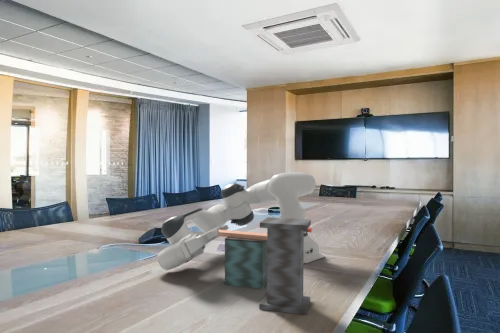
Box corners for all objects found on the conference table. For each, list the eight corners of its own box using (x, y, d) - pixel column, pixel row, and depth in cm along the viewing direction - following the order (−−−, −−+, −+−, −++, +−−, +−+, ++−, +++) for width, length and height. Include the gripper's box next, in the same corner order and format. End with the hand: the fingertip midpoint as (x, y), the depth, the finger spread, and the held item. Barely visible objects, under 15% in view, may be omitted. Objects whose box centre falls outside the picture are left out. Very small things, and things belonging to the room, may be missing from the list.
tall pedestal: (259, 308, 105) (259, 222, 104) (267, 296, 115) (267, 217, 114) (306, 314, 101) (306, 225, 100) (310, 301, 111) (310, 219, 110)
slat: (211, 235, 130) (211, 231, 130) (216, 233, 133) (216, 229, 133) (279, 241, 120) (279, 237, 120) (282, 239, 124) (282, 234, 124)
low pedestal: (224, 284, 125) (224, 238, 125) (233, 275, 135) (233, 232, 134) (262, 288, 121) (262, 241, 121) (269, 279, 131) (269, 235, 130)
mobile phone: (215, 249, 171) (220, 242, 186) (215, 251, 171) (220, 244, 186) (230, 249, 171) (234, 242, 186) (230, 251, 171) (234, 244, 186)
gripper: (208, 246, 143) (235, 231, 140) (185, 259, 124) (216, 242, 120) (201, 232, 144) (228, 217, 141) (177, 243, 125) (208, 226, 121)
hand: (222, 229), depth 130 cm, fingers open, 8 cm apart
